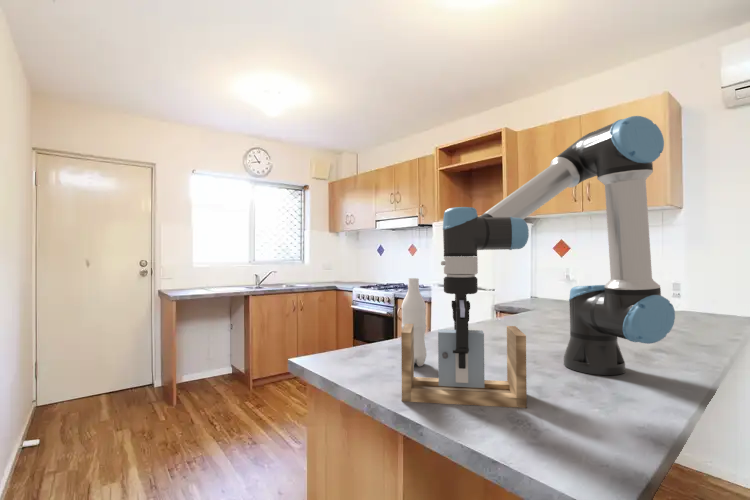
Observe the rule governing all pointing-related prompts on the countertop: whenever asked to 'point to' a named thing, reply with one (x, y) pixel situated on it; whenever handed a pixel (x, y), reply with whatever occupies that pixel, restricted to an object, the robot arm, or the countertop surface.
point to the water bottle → (415, 318)
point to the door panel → (448, 359)
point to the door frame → (491, 395)
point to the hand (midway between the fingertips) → (461, 378)
